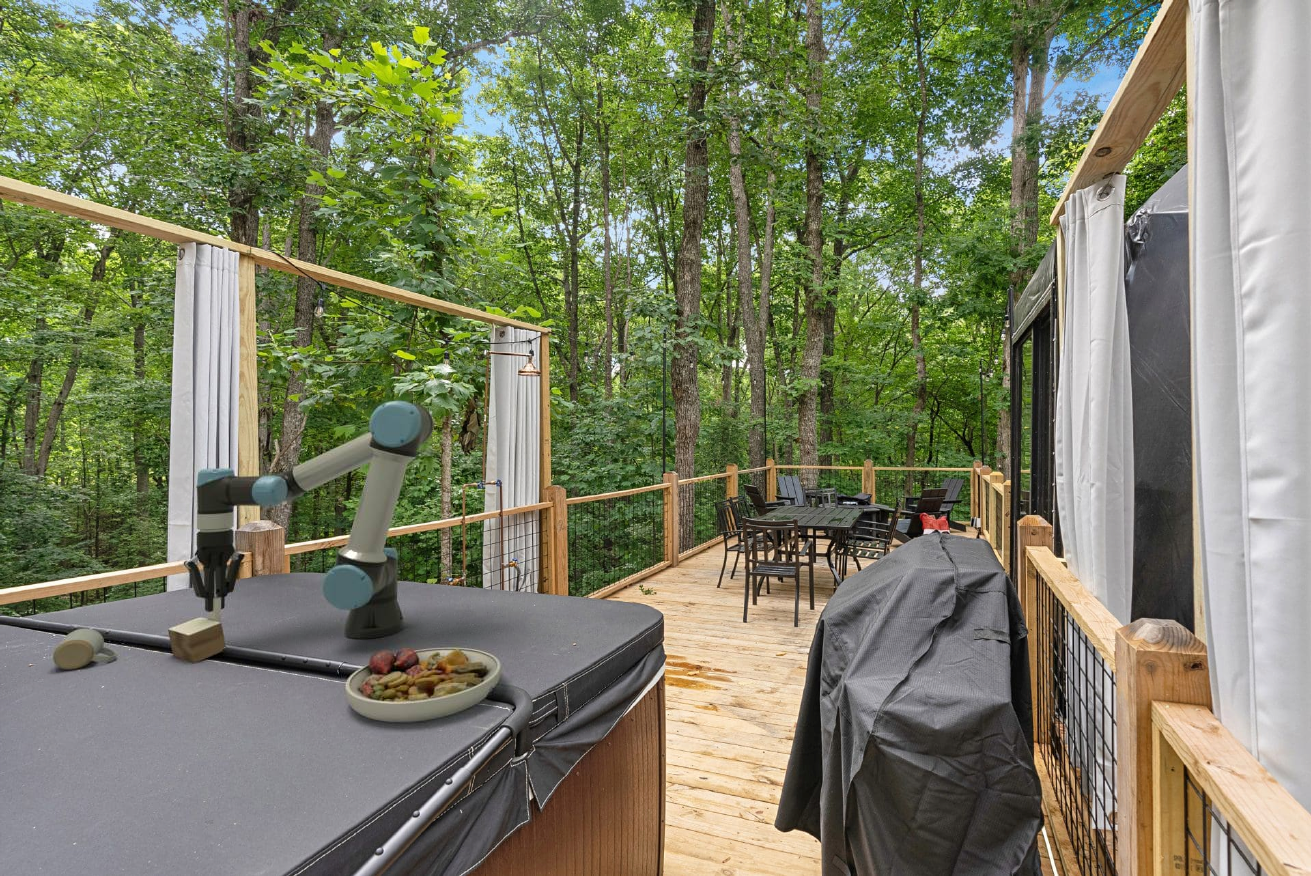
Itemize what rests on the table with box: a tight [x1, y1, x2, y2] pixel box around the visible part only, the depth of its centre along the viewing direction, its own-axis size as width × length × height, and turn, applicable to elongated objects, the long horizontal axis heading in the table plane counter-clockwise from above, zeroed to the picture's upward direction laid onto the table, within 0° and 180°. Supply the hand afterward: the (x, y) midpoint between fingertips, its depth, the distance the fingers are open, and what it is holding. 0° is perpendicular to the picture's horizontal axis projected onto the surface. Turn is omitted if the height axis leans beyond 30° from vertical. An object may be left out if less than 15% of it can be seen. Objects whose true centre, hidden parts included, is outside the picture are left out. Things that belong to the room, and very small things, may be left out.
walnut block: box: [167, 617, 227, 664], centre depth 146 cm, size 10×7×7 cm
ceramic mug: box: [52, 628, 118, 670], centre depth 141 cm, size 11×8×8 cm
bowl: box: [344, 647, 502, 723], centre depth 124 cm, size 30×30×8 cm
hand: (214, 623), depth 150 cm, fingers closed
